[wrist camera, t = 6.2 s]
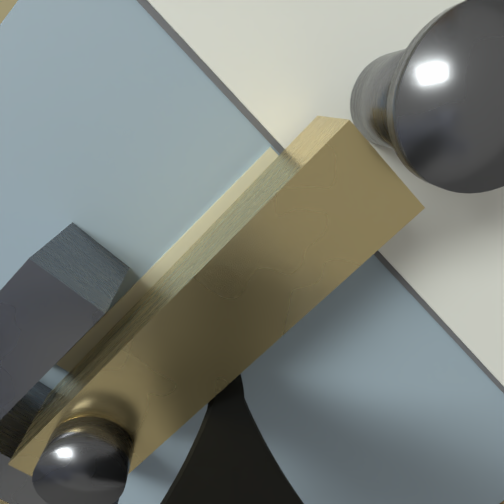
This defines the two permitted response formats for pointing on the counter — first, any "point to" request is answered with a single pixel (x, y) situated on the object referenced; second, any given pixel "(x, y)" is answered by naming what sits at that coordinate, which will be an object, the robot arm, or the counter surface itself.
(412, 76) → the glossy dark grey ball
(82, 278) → the keeper
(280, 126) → the door panel
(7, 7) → the counter surface
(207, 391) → the swing bar
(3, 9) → the counter surface
